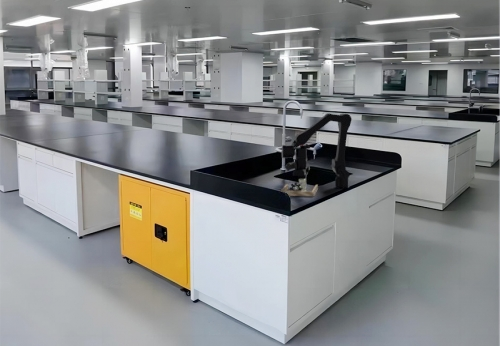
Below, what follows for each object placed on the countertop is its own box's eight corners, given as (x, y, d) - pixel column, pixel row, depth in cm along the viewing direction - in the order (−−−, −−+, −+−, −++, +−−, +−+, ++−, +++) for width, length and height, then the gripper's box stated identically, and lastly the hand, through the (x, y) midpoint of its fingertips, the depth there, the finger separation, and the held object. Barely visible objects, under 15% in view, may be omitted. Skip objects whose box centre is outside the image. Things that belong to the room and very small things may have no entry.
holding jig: (317, 189, 230) (317, 184, 230) (313, 196, 215) (313, 191, 215) (286, 188, 235) (286, 184, 235) (280, 195, 220) (280, 190, 219)
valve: (298, 189, 231) (289, 194, 221) (298, 177, 230) (289, 182, 219) (309, 190, 228) (301, 195, 218) (309, 178, 227) (301, 182, 216)
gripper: (289, 154, 240) (290, 181, 242) (282, 159, 222) (283, 189, 225) (309, 154, 236) (310, 182, 239) (304, 159, 219) (304, 189, 222)
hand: (301, 185), depth 231 cm, fingers closed
